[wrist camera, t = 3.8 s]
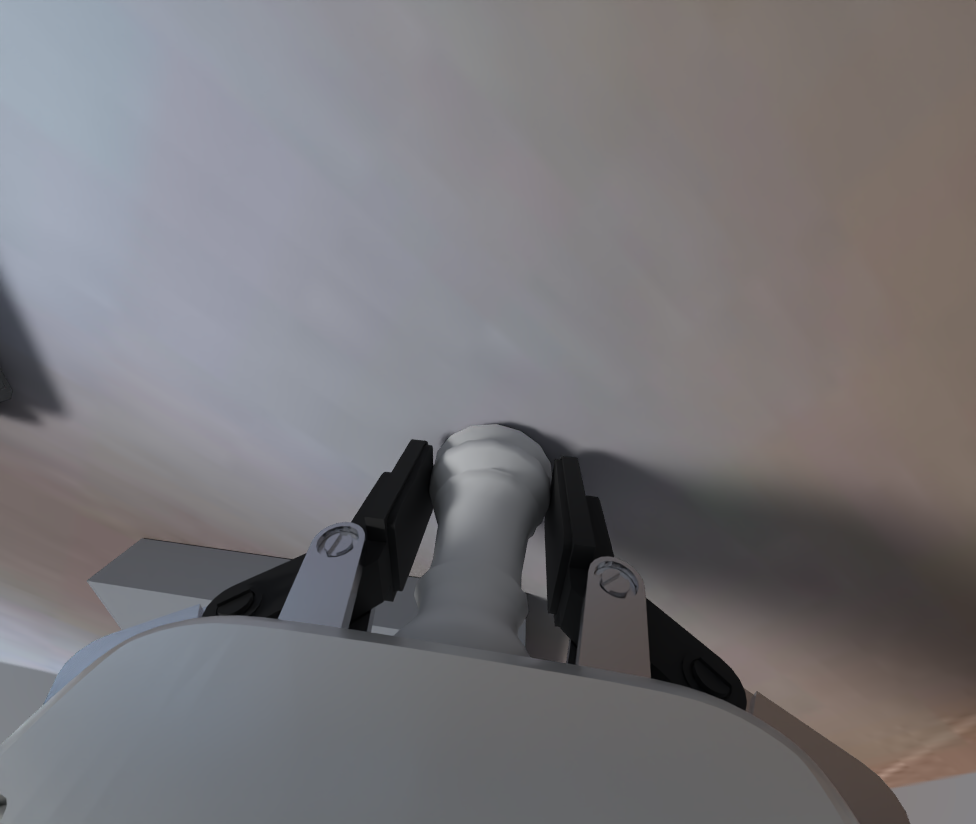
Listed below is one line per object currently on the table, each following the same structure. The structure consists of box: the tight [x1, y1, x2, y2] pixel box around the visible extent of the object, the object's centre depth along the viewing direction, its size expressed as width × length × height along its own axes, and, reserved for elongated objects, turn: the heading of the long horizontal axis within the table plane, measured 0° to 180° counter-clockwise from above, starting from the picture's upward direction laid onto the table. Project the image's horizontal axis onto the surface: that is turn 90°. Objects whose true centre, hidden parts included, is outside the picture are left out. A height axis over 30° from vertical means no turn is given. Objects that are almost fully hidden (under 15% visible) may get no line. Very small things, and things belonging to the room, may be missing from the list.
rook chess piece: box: [393, 424, 552, 658], centre depth 10 cm, size 4×4×8 cm
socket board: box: [87, 538, 526, 647], centre depth 19 cm, size 20×14×3 cm
